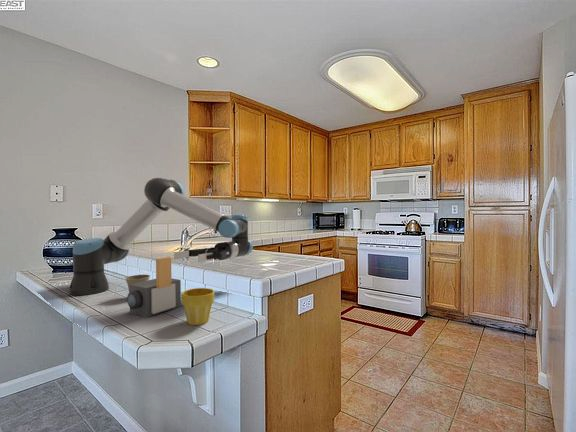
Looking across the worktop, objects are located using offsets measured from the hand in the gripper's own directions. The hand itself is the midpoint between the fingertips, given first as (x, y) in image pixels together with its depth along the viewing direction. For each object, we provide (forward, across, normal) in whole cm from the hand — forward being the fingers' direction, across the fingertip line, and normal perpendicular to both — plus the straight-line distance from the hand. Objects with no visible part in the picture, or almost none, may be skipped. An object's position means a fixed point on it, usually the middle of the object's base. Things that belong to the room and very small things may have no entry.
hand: (186, 257), depth 115 cm
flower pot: (+3, +27, -18) cm, 33 cm away
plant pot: (+9, -16, -19) cm, 27 cm away
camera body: (+10, +6, -18) cm, 22 cm away
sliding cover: (+10, 0, -17) cm, 20 cm away
